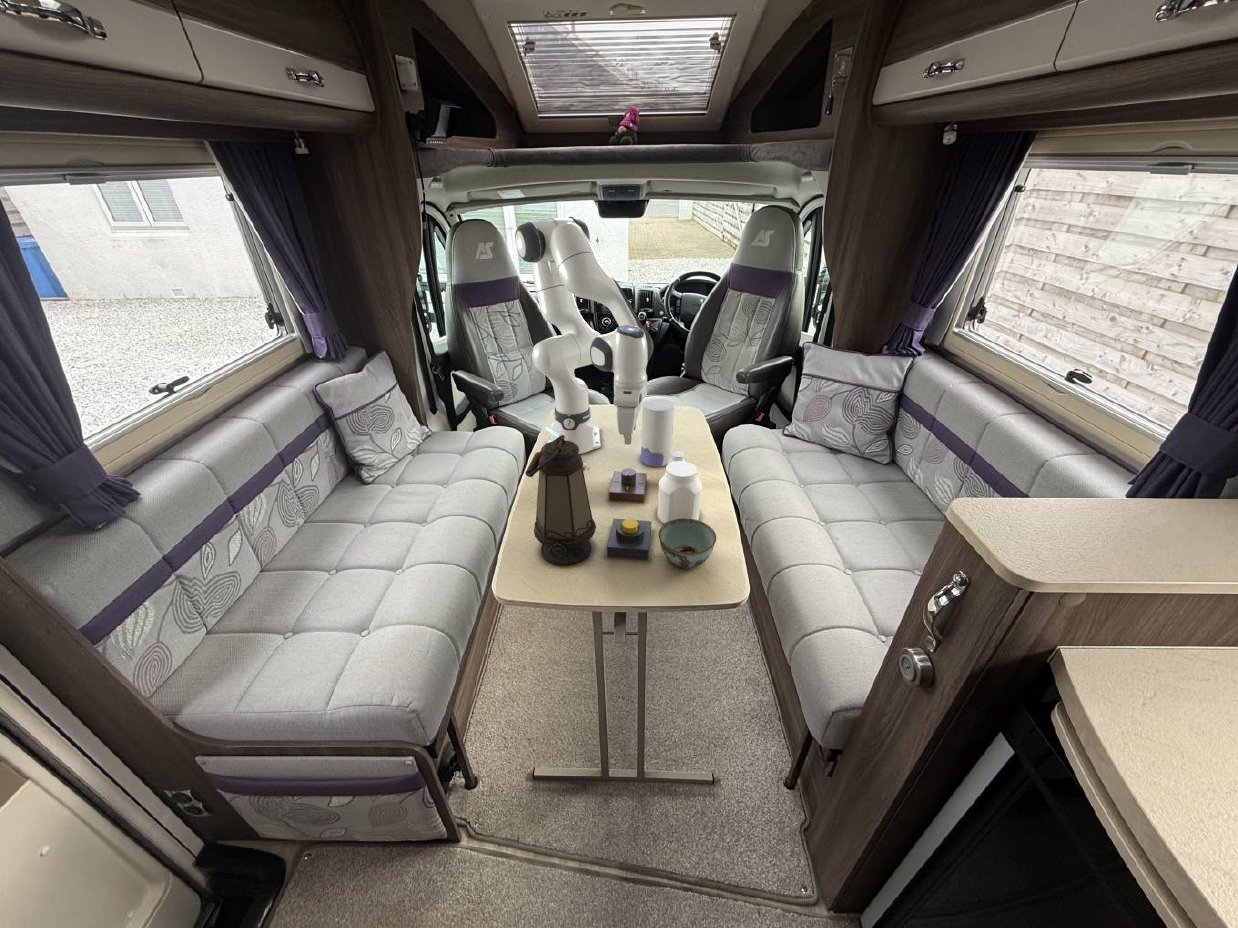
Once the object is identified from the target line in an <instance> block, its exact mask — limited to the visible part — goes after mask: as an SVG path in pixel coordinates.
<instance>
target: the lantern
mask: <svg viewBox="0 0 1238 928" xmlns="http://www.w3.org/2000/svg"><path fill="white" fill-rule="evenodd" d="M564 438H565V436H564V435H561V436H559V437H558V438H557V439H555V440H554V441H552V442H549V443H548V442H547V443H545V444H544V445H543V446H542V447H541V448H540V451H537V452H535V453H534V455H533V457H532V459H531V461H530V463H529V464H528V467H527V468H526V470H525V472H524V474H525V476H527V477H528V478H532V477H534V476H535V475H536V473H538V482H537V483H538V485H537V499H536V510H535V511H536V512H535V522H534V529H533V534H534V537H535V538H536V540H537V541H538V542H539V543H540V544H541V545H540V551H539V552H540V555H541V557H542V559H543V560H544V561H545V562H546V563H548V564H550V565H553V566H557V567H570V566H575V565H578V564H580V563H582V562H584V561H585V560H587V559H588V557H590V556H591V553H592V549H593V547H592V544H591V541H590V540H591V539H592V538H593V537H594V535H595V533H596V529H597V525H596V522H595V520H594V518H593V515H592V509H591V504H590V503H591V502H590V498H589V493H588V488H587V484H586V478H585V472H583V467H582V466H583V462H584V460H583V457H582V455H581V454H579V453H578V452H579V447H578V446H577V445H576V444H575V443H573V442H571V441H566V440H564Z"/></svg>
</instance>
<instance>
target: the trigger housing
mask: <svg viewBox="0 0 1238 928" xmlns="http://www.w3.org/2000/svg"><path fill="white" fill-rule="evenodd" d="M626 519H627V518H613V519H612V524H611V529H610V533H609V537H608V541H607V546H606V556H607V558H615V559H626V560H638V561H649V553H650V543H651V536H652V535H651V534H652V521H651V520H641V519H638V520H637V519H635V520H636V521H637V522H638V531H637V532H636V533H625V532H624V531H623V530H622V522H623V521H624V520H626Z"/></svg>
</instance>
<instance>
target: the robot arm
mask: <svg viewBox="0 0 1238 928" xmlns="http://www.w3.org/2000/svg"><path fill="white" fill-rule="evenodd" d="M590 235H591V234H590V230H589V226H588V225H587V223H586V222H585V221H584V220H583V219H582V218H580V217H576V216H568V217H549V218H546V219H540V220H536V221H533V222H530V221H528V222H524V223H522V224H520V225H518V226H517V229H516V230H515V233H514V242H515V247H516V251H517V254H518V255H519V257H520V258H521V259H522V260H523V261H524V262H526V263H531V266H532V267H531V269H532V270H531V271H532V278H533V284H534V290H535V293H536V296H537V301H538V304H539V308H540V312H541V316H542V318H543V319H544V321H546V322H547V323H549V324H551V325H553V326H555V327H556V328H557V329H558V330H559V332H560V334H561V335H557V336H552V337H548V338H545V339H543V340H541V341H539V342H537V343H535V345H534V346H533V348H532V350H531V351H532V352H531V361H532V363H533V365H534V367H535V368H536V370H537V371H539V372H540V373H541V374H543V375H544V376H546V377H547V379H549V382H550V383H551V385H552V387H553V394H554V403H555V407H554V413H553V415H554V421H553V422H552V423H551V425H550V427H551V428H549V427H547V426H545V430H546V431H547V432H549V433H550V434H551V438H549V439H548V440H547V443H549V442H552V441H554V440H555V439H557V438H558V437H559V436H561V435H564V436H565V438H564V440H566V441H571V442H573V443H575V444H576V445H577V446H578V447H579V452H578V453H579V454H580V455H582V454H586V453H588V452H591V451H593V450H596V449H600V448H602V445H601V436H600V434H601V433H600V428H599V427H597V426H595V425H594V418H593V416H591V408H590V402H589V387H588V385H587V384H586V383H585V381H584V380H582V379H581V378H578V377H576V374H575V369H579V368H582V367H587V366H590V365H593V366H594V367H595V368H596V369H597V370H599V371H602V372H611V373H613V375H614V376H613V405H614V406H615V407H616V408H615V409H616V422H617V423H616V424H617V431H618V434H619V435H622V436H623V439H624V445H627V446H630V445H631V444H632V442H633V441H632V440H633V439H632V438H633V437H632V435H633V434H634V431H635V430H636V429H637V421H638V418H639V414H640V411H641V407H642V403H643V400H644V399H645V398H646V397H647V396H648V375H647V366H648V362H649V361H650V359H651V358H652V356H653V353H654V341H653V338H652V337H651V335H650V333H649V332H648V330H647V329H646V328H645V327H644V325H642V323H641V321H640V319H639V317H638V316H637V314H636V312H635V311H634V308H633V307H632V305H631V303H630V301H629V299H628V297H627V296H626V294H625V292H624V290H623V289H622V287H621V285H620V284H619V282H618V281H617V280H616V279H615V278H613V277H612V276H610V275H609V274H608V273H607V271H606V270H605V269H604V268H603V267H602V265H601V264H600V262H599V260H598V258H597V256H596V254H595V251H594V248H593V246H592V245H591V241H590V240H591V236H590ZM575 296H576V297H577V298H581V299H585V300H590V301H593V302H596V303H599V304H602V305H603V306H605V307H606V308H607V309H608V310H610V312H611V314H612V316H613V318H614V320H615V321H616V324H617V325H618V327H616V329H615V330H614V331H612V332H609V333H605V334H601V333H599V332H598V331H596V330H594V329H593V328H591V327H590V326H589V324H588V323H587V322H586V321H585V320H584V318H583V316H582V315H581V313H580V311H579V308H578V305H577V302H576V298H575Z"/></svg>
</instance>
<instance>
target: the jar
mask: <svg viewBox="0 0 1238 928" xmlns="http://www.w3.org/2000/svg"><path fill="white" fill-rule="evenodd" d="M685 461H686V460H685ZM685 461H675V462H671V463H669V464H667V465H665V474H664V475H663V476H662V477H661V478H660V480H659V481H658V497H657V498H658V500H657V513H656V514H657V518H658V520H659V521H660V522H661V523H662V524H665V523H666V522H668V521H671V520H674V519H681V518H687V519H695V520H698V521H699V519H700V509H701V500H702V492H703V484H702V482H701V480H700V478H699V477H698V467H697V466H696V464H693V463H692V462H689V461H686V462H685Z"/></svg>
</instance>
